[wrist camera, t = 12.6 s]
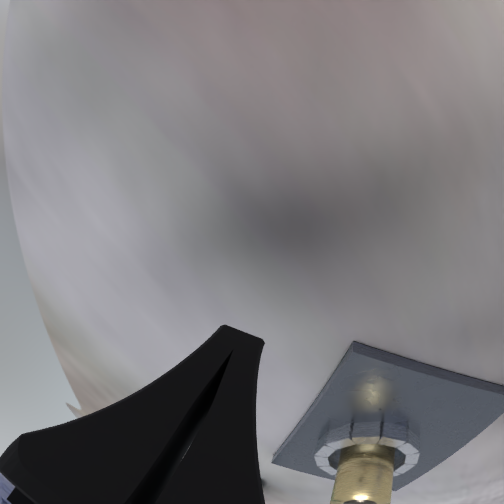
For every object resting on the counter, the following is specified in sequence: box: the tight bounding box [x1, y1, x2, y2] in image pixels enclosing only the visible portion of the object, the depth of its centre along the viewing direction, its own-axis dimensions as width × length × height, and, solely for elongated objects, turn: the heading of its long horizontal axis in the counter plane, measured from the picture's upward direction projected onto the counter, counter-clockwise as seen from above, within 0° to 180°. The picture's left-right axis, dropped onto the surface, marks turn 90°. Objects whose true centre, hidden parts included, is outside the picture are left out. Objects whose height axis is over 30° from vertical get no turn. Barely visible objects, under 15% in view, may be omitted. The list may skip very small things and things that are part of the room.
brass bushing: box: [330, 444, 395, 504], centre depth 21 cm, size 5×5×6 cm
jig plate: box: [271, 341, 504, 491], centre depth 23 cm, size 16×20×2 cm
